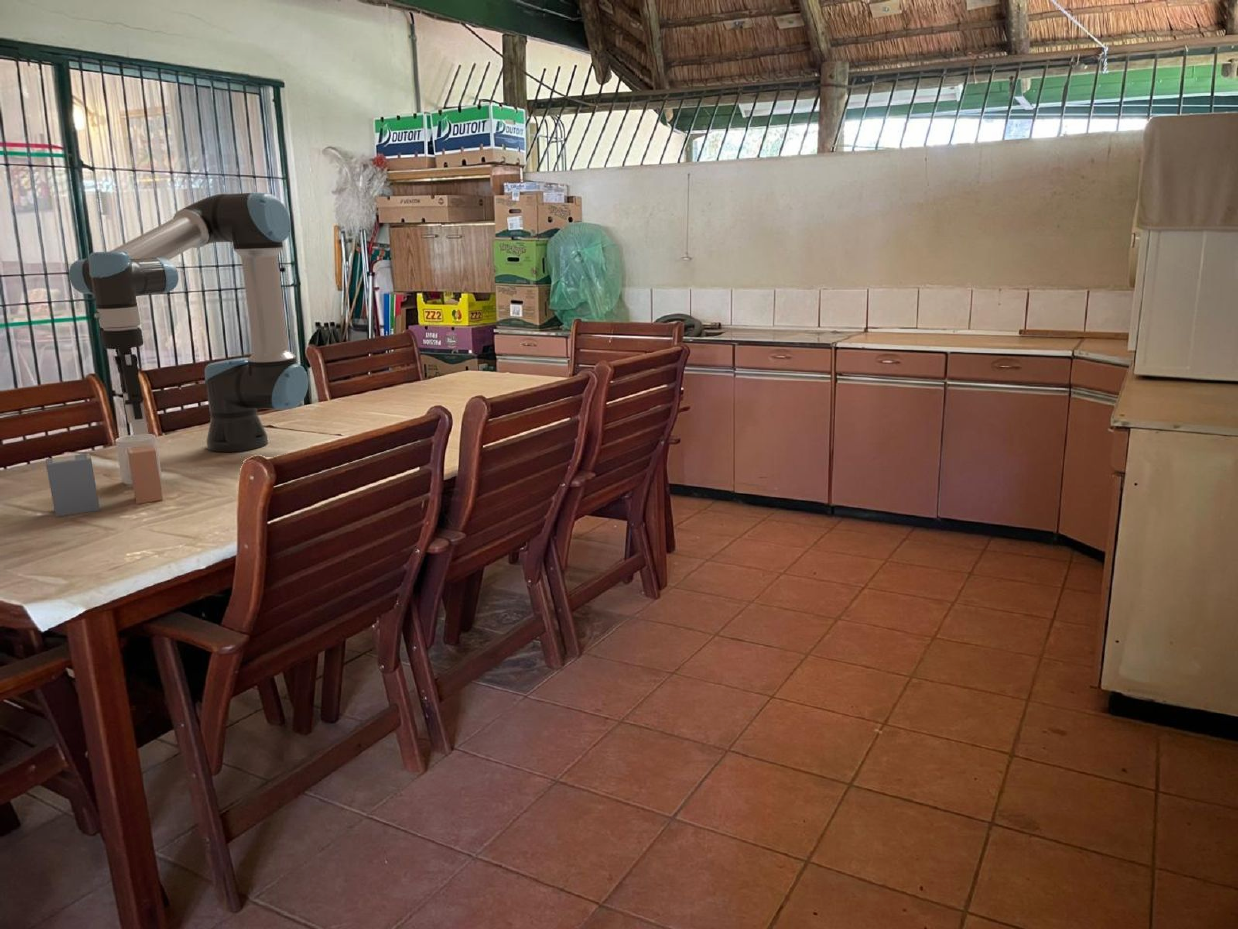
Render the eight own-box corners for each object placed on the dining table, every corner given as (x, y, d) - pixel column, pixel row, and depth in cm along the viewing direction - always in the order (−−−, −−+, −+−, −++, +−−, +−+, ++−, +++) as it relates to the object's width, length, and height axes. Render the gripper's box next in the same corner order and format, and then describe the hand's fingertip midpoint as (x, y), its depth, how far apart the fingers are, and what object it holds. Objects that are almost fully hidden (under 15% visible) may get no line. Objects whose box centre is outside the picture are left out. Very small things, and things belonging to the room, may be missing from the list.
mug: (149, 489, 208) (142, 444, 205) (110, 491, 207) (102, 446, 204) (167, 475, 219) (160, 433, 217) (130, 477, 218) (123, 434, 216)
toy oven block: (98, 503, 198) (89, 452, 195) (100, 510, 193) (91, 458, 190) (55, 509, 194) (45, 458, 191) (55, 516, 189) (45, 464, 186)
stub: (159, 493, 204) (152, 444, 201) (163, 499, 199) (155, 449, 196) (134, 497, 201) (126, 447, 198) (137, 503, 196) (128, 452, 193)
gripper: (96, 323, 199) (113, 420, 205) (104, 335, 178) (122, 442, 184) (135, 320, 203) (151, 415, 208) (147, 332, 182) (164, 436, 188)
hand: (137, 428), depth 196 cm, fingers open, 13 cm apart
